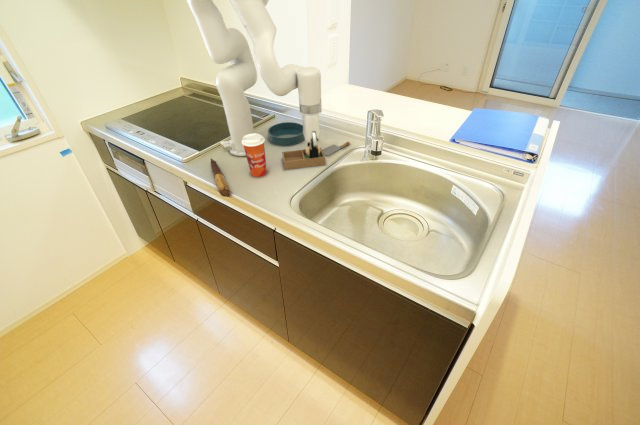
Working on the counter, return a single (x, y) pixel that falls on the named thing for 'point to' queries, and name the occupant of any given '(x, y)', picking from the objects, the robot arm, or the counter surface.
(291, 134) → the bowl
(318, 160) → the divided brown tray
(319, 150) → the egg
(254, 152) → the paper cup
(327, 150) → the cleaver
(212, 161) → the hand tool
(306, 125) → the robot arm
